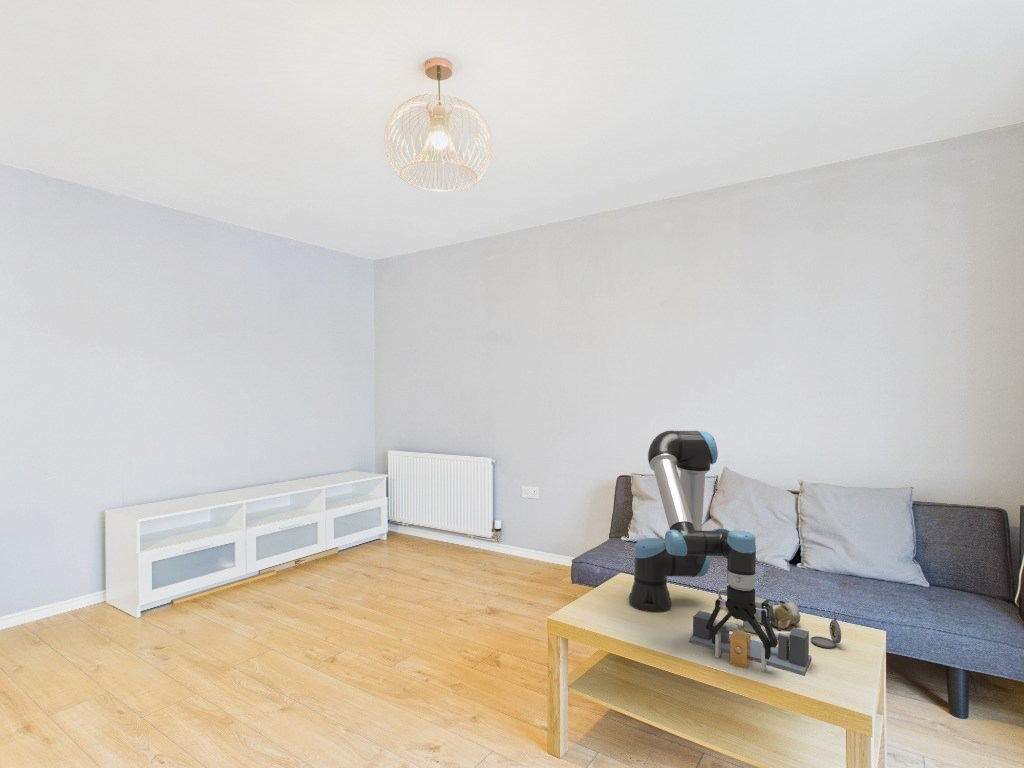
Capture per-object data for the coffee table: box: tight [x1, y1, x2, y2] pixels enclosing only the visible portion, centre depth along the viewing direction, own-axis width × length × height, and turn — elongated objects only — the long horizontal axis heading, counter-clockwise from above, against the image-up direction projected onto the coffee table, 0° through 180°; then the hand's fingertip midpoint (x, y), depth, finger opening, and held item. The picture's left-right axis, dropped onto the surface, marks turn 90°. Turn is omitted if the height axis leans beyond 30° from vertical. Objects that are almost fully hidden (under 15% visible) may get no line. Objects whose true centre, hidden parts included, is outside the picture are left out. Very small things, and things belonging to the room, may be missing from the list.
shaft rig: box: [688, 610, 812, 676], centre depth 163 cm, size 32×12×9 cm, turn 53°
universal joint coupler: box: [729, 630, 752, 669], centre depth 155 cm, size 6×4×8 cm
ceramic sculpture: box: [769, 600, 801, 631], centre depth 181 cm, size 11×9×15 cm
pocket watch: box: [810, 612, 842, 649], centre depth 168 cm, size 8×8×10 cm
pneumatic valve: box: [742, 595, 773, 635], centre depth 177 cm, size 6×12×12 cm, turn 45°
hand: (740, 662), depth 154 cm, fingers open, 12 cm apart
